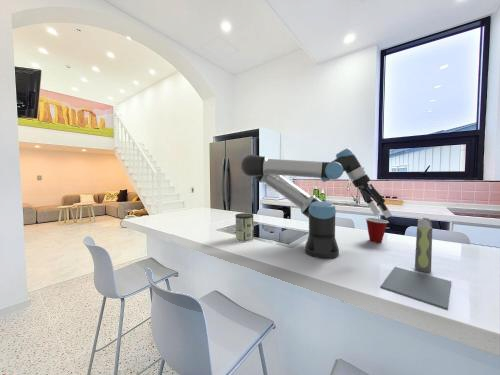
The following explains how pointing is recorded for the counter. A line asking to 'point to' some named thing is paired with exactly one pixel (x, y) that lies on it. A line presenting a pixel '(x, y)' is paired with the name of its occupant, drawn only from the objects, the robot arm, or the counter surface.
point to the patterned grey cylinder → (423, 245)
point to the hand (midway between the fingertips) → (382, 215)
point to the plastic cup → (376, 229)
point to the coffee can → (244, 227)
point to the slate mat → (419, 286)
